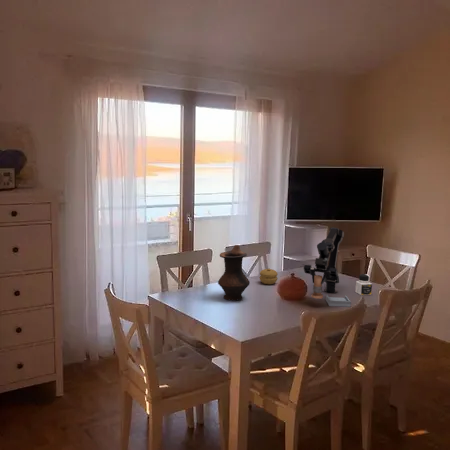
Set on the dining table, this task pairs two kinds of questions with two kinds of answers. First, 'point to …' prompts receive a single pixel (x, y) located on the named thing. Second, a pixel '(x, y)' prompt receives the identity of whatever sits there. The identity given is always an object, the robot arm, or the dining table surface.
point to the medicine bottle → (363, 285)
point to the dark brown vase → (233, 274)
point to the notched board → (338, 301)
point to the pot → (268, 276)
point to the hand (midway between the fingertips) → (317, 283)
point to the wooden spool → (317, 287)
